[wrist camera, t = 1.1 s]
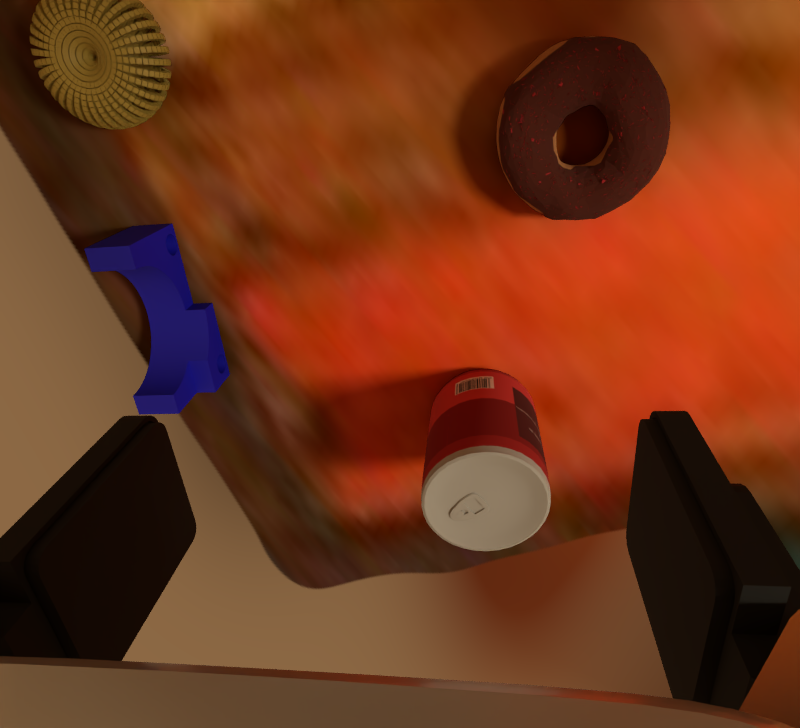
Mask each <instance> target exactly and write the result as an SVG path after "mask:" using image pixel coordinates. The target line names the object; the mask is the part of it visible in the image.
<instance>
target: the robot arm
mask: <svg viewBox="0 0 800 728" xmlns="http://www.w3.org/2000/svg"><path fill="white" fill-rule="evenodd" d="M195 533H196V522H195V518H194V515H193V512H192V509H191V506H190V503H189V500H188V496H187V493H186V490H185V487H184V484H183V480H182V477H181V475H180V471H179V468H178V465H177V462H176V458H175V455H174V452H173V449H172V446H171V443H170V439H169V436H168V433H167V430H166V428H165V426H164V425H163V424H162V423H159V422H158V421H157V419H156V418H155V417H153V416H124V417H122V418H121V419H119V420H118V421H117V422H116V423H115V424H114V425H113V426H112V427H111V428H110V429H109V430H108V431H107V432H106V433H105V434H104V435H103V436H102V437H101V438H100V439H99V440H98V441H97V442H96V443H95V444H94V445H93V446H92V447H91V448H90V449H89V450H88V451H87V452H86V453H85V454H84V455H83V456H82V457H81V458H80V459H79V460H78V461H77V462H76V463H75V464H74V465H73V466H72V467H71V468H70V469H69V470H68V471H67V472H66V473H65V474H64V475H63V476H62V477H61V478H60V479H59V480H58V481H57V482H56V483H55V484H54V485H53V486H52V487H51V488H50V489H49V490H48V491H47V492H46V493H45V494H44V495H43V496H42V497H41V498H40V499H39V500H38V501H37V502H36V503H35V504H34V505H33V506H32V507H31V508H30V509H29V510H28V511H27V512H26V513H25V514H24V515H23V516H22V517H21V518H20V519H19V520H18V521H17V522H16V523H15V524H14V525H13V526H12V527H11V528H10V529H9V530H8V531H7V532H6V533H5V534H4V535H3V536H2V537H1V538H0V728H800V570H799V569H798V567H797V566H796V564H795V562H794V561H793V559H792V558H791V556H790V554H789V553H788V551H787V550H786V548H785V547H784V545H783V543H782V542H781V540H780V539H779V537H778V535H777V534H776V532H775V531H774V529H773V527H772V526H771V524H770V523H769V521H768V519H767V518H766V516H765V515H764V513H763V512H762V510H761V508H760V507H759V505H758V504H757V502H756V500H755V499H754V497H753V496H752V494H751V492H750V491H749V490H748V489H747V488H746V486H744V485H742V484H730V482H729V481H728V479H727V477H726V475H725V474H724V472H723V470H722V469H721V467H720V465H719V464H718V462H717V460H716V459H715V457H714V455H713V454H712V452H711V450H710V448H709V447H708V445H707V443H706V442H705V440H704V438H703V437H702V435H701V433H700V432H699V430H698V428H697V427H696V425H695V423H694V422H693V420H692V418H691V416H690V415H689V414H688V412H686V411H653V412H652V413H651V415H650V419H642V420H640V423H639V428H638V437H637V445H636V454H635V462H634V471H633V479H632V488H631V496H630V505H629V513H628V522H627V531H626V539H627V547H628V551H629V555H630V558H631V562H632V565H633V568H634V571H635V574H636V578H637V581H638V584H639V588H640V591H641V594H642V598H643V601H644V604H645V607H646V611H647V614H648V617H649V621H650V624H651V627H652V631H653V634H654V637H655V640H656V644H657V647H658V650H659V653H660V657H661V660H662V664H663V667H664V670H665V673H666V677H667V680H668V683H669V687H670V690H671V693H672V696H673V698H666V697H658V696H650V695H642V694H633V693H622V692H609V691H597V690H584V689H572V688H559V687H547V686H534V685H521V684H520V685H519V684H505V683H489V682H473V681H457V680H441V679H426V678H410V677H394V676H378V675H362V674H345V673H327V672H309V671H293V670H277V669H259V668H240V667H224V666H206V665H187V664H168V663H167V664H166V663H148V662H147V663H146V662H128V661H122V659H123V657H124V656H125V654H126V652H127V651H128V649H129V647H130V646H131V644H132V642H133V641H134V639H135V637H136V635H137V633H138V632H139V631H140V629H141V627H142V626H143V623H144V622H145V621H146V619H147V617H148V615H149V614H150V612H151V610H152V609H153V607H154V605H155V603H156V602H157V600H158V599H159V597H160V595H161V594H162V592H163V590H164V589H165V587H166V585H167V584H168V582H169V580H170V579H171V577H172V575H173V574H174V572H175V570H176V568H177V567H178V565H179V563H180V562H181V560H182V558H183V557H184V555H185V553H186V552H187V550H188V548H189V547H190V545H191V543H192V542H193V540H194V537H195Z"/></svg>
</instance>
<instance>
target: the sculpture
mask: <svg viewBox="0 0 800 728" xmlns="http://www.w3.org/2000/svg"><path fill="white" fill-rule="evenodd" d="M120 1H121V2H120ZM57 2H58V3H57ZM58 4H59V5H58ZM113 4H114V5H115V6H114V5H113ZM90 6H91V7H90ZM129 8H130V9H131V11H130V10H129ZM84 10H85V11H84ZM108 10H109V11H108ZM123 12H124V13H123ZM32 17H33V18H32V21H33V23H32V24H31V25H30V32H31V33H32V34H33V35H34V36H30V43H31V44H34V45H35V46H37V47H40V48H41V47H42V48H43V49H31V53H32V55H35V56H44V57H52V58H44V59H38V60H35V61H34V64H35V67H38V68H43V69H41V70H40V71H39V72H38V74H39V76H40V78H41V79H42V80H46V81H44V85H45V87H46V88H47V90H48V91H51V92H52V93H51V95H52V96H53V98H54V99H55V100H56V101H58V102H59V103H60V105H61V106H62V107H63V108H64V109H66V110H68V111H70V113H71V114H72V115H73V116H75V117H76V118H79V119H81V120H82V121H84V122H86V123H88V124H93V125H94V126H96V127H100V128H106V129H115V128H116V129H125V128H128V127H129V128H132V127H135V126H138V124H141V123H144V122H146V120H148V119H147V118H151V117H152V116H153V115H154V114H155V113H156V111H157V110H158V109H160V106H162V101H164V100H165V97H166V96H167V91H166V90H168V89H169V86H170V82H169V81H168V80H167V79H166V78H171V71H170V70H168V69H166V68H163V67H160V66H156V65H163V66H171V60H170V59H162V58H150V56H160V55H163V54H164V55H165V54H169V49H168V47H166V46H160V45H161V44H164V43H165V41H166V40H165V37H164V35H163V34H162V33H160V29H161V28H160V26H159V25H158V23H157V22H156V21H154V20H153V19H154V17H153V15H151V12H150V11H149V10H146V9H145V6H144V4H143V3H142V2H141V1H139V0H41V1H39V3H38V4H37V6H36V13H35V12H34V13H33V16H32ZM145 18H146V20H145ZM43 22H44V23H45V24H44V23H43ZM34 23H35V24H34ZM135 23H136V24H135ZM125 24H126V25H125ZM151 28H152V30H151V31H150V29H151ZM41 31H42V32H41ZM149 31H150V33H148V34H147V35H146V33H147V32H149ZM45 34H47V35H45ZM125 36H126V37H125ZM153 40H154V41H153ZM150 41H152V42H150ZM147 42H150V43H147ZM146 43H147V44H146ZM144 44H145V45H144ZM143 45H144V46H143ZM157 46H158V47H157ZM55 57H56V58H55ZM69 57H70V58H69ZM147 68H148V69H147ZM149 69H150V70H149ZM51 73H52V74H51ZM74 76H75V77H74ZM151 77H154V79H156V80H158V81H159V82H160V83H159V82H158V81H156V80H154V79H153V78H151ZM77 78H78V79H77ZM55 82H56V83H55ZM155 89H156V90H155ZM157 90H158V91H157ZM59 91H60V92H59ZM158 92H159V93H158ZM138 96H139V97H138ZM125 98H126V99H125ZM146 98H147V99H146ZM154 101H156V102H154ZM134 104H135V105H134ZM111 105H112V106H111ZM141 107H142V108H141ZM126 110H127V111H126ZM134 114H135V115H134Z"/></svg>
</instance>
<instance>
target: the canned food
mask: <svg viewBox="0 0 800 728" xmlns="http://www.w3.org/2000/svg"><path fill="white" fill-rule="evenodd" d="M550 497H551V494H550V485H549V480H548V472H547V467H546V462H545V457H544V452H543V447H542V442H541V437H540V432H539V427H538V422H537V417H536V412H535V407H534V403H533V400H532V398H531V396H530V394H529V393H528V391H527V390H526V388H525V387H524V386H523V385H522V384H521V383H520V382H518V381H517V380H516V379H515V378H513V377H512V376H510V375H508V374H506V373H503V372H501V371H497V370H491V369H478V370H472V371H468V372H465V373H462V374H460V375H458V376H457V377H455V378H453V379H452V380H451V381H449V382H448V383H447V384H446V385H445V386H444V387H443V388H442V390H441V391H440V392H439V393H438V395H437V396H436V398H435V400H434V402H433V405H432V409H431V415H430V423H429V431H428V439H427V447H426V455H425V463H424V472H423V481H422V494H421V501H422V510H423V514H424V517H425V519H426V521H427V523H428V525H429V526H430V527H431V528H432V530H433V531H434V532H435V533H436V534H437V535H439V536H440V537H441V538H442V539H444V540H446V541H447V542H449V543H451V544H453V545H456V546H459V547H461V548H465V549H470V550H476V551H492V550H500V549H504V548H509V547H512V546H514V545H516V544H519V543H521V542H523V541H524V540H526V539H528V538H529V537H531V536H532V535H533V534H534V533H535V532H536V531H538V530H539V528H540V527H541V526H542V524H543V523H544V522H545V520H546V517H547V515H548V513H549V509H550V503H551V500H550Z"/></svg>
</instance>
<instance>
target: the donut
mask: <svg viewBox="0 0 800 728" xmlns="http://www.w3.org/2000/svg"><path fill="white" fill-rule="evenodd" d="M588 105H594V106H596V107H597V108H598V109H599V110H600V111H601V113H602V114H603V115H604V116H605V118H606V122H607V126H608V129H609V136H608V141H607V144H606V145H605V147H604V149H603V150H602V152H601V153H600V154H599V155H598V156H597V157H596V158H594V159H593V160H592V161H590V162H588V163H586V164H583V165H568V164H565V163H563V162H561V161H560V159H559V157H558V153H557V148H556V133H557V130H558V128H559V127H560V125H561V124H562V122H563V120H564V119H565V117H566V116H567V115H568V114H571V113H573V112H575V111H576V110H578V109H580V108H581V107H583V106H588ZM669 131H670V104H669V100H668V96H667V92H666V89H665V86H664V84H663V82H662V80H661V78H660V76H659V74H658V73H657V71H656V70H655V68H654V67H653V65H652V63H651V62H650V60H649V59H648V57H647V56H646V55H645V54H644V53H643V52H642V51H641V50H640V49H639V48H638V47H637V46H636V45H635V44H633V43H631V42H628V41H624V40H620V39H617V38H612V37H598V36H588V37H585V36H584V37H578V38H572V39H569V40H565V41H562V42H559V43H557V44H555V45H553V46H551V47H550V48H549V49H547V50H546V51H544V52H543V53H542V54H540V55H539V56H538V57H537V58H536V59H535V60H534V61H533V62H532V63H531V64H530V65H529V66H528V67H527V68H526V69H525V70H524V71H523V72H522V73H521V74H520V75H519V77H518V78H517V79H516V80H515V81H514V82H513V84H512V85H511V86H509V87H508V89H507V91H506V93H505V97H504V99H503V101H502V103H501V106H500V110H499V115H498V120H497V133H496V144H497V150H498V155H499V161H500V164H501V167H502V170H503V173H504V175H505V177H506V178H507V180H508V182H509V184H510V186H511V188H512V189H513V191H514V192H515V193H516V194H517V195H518V196H519V197H520V198H521V199H522V200H523V201H524V202H525V203H527V204H528V205H529V206H530V207H531V208H532V209H534V210H536V211H537V212H540V213H542V214H544V216H545V217H547V218H550V219H552V220H565V219H566V220H583V219H595V218H598V217H600V216H602V215H604V214H606V213H608V212H610V211H612V210H614V209H616V208H618V207H619V206H621V205H623V204H624V203H626V202H628V201H630V200H631V199H632V198H633V197H634V196H635V195H636V194H637V193H638V192H639V191H640V190H642V189H643V188H644V187H645V186H646V185H647V184H648V183H649V182H650V180H651V179H652V178H653V176H654V175H655V173H656V172H657V171H658V169H659V167H660V165H661V163H662V161H663V158H664V156H665V154H666V149H667V145H668V139H669Z"/></svg>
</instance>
